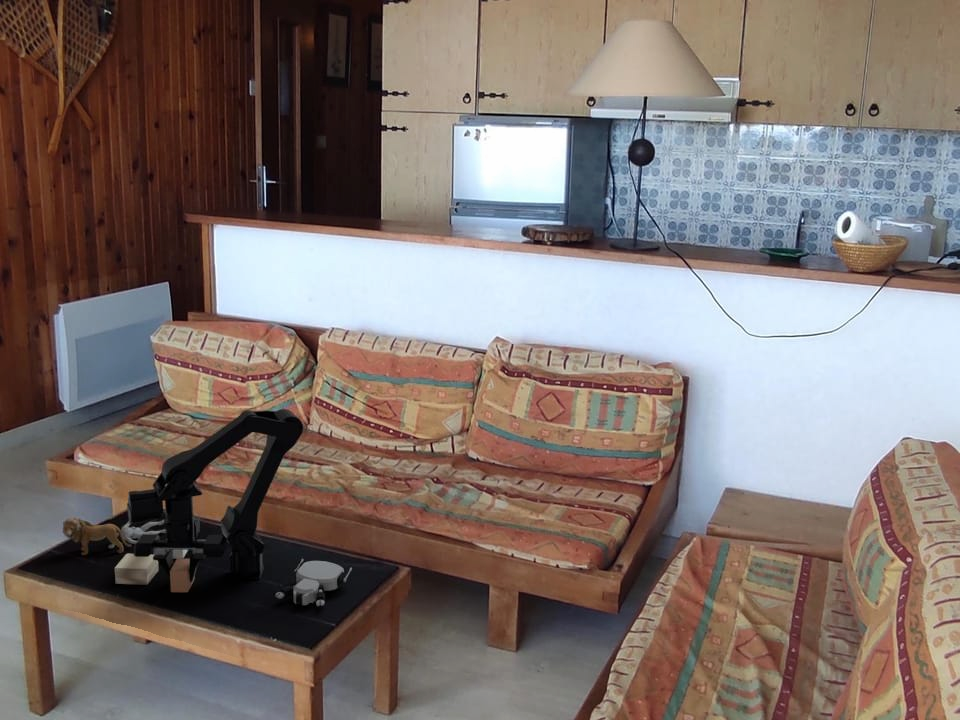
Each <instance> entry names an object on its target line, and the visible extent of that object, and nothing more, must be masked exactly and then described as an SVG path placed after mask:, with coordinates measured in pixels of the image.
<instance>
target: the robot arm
mask: <svg viewBox="0 0 960 720" xmlns="http://www.w3.org/2000/svg"><path fill="white" fill-rule="evenodd" d="M303 432H304V424H303V421H302V420H301V419H300V418H299V417H298V416H297V415H296V414H295V413H294V412H293V411H291V410H290V409H288V408H287V409H286V408H281V409H278V410H267V409H266V410H250V409H247V410H244V411H242V412H240V414H239V415H237V417H236V418H234V419H233V420H231V421H229V422H228V423H227V424H225V425H224V426H223V427H221V428H220V429H218V430H217V431H216V432H214V434H212V435H210V436H209V437H208V438H207V439H205V440H203V441H202V442H201V443H200V444H198V445H197V446H194V447H192V448H191V449H188V450H184V451H181V452H179V453H177V454H175V455H173V456H171V457H169V458H168V459H166V460H165V461H164V462H163V463H162V467H161V472H160V473H159V475H158V477H157V478H156V480H155V481H154V483H153V484H152V487H153V488H152V489H144V490H131V491H130V490H129V492H128V497H127V503H126V508H127V514H128V516H127V517H128V521H129V522H130V524H131V525H133V524H141V523H149V522H155V521H158V520H159V519H161V518H162V515H164V511H165V524H164V529H165V530H166V532H165V534H166V539H167V540H166V539H164V540H163V539H160V535H159V534H157V535H153V534H142V535H141V536H140V538H139V539H138V538H137V540H136V541H137V542H136V543H135V544H133V554H134V556H136V557H148V556H149V555H154V556H153V560H157V561H158V564H160V566H161V567H162V568H163V569H164V571H165V573H166V574H167V576H168V577H169V579H170V570H171V568H172V567H173V565H174V563H175V562H174V558H173V550H188V551H189V550H190V551H192V553H191V555H190V557H189V559H190V582H192V581H193V579H194V578H195V576H196V572H197V568H198V566H199V562H200V561H204V560H205V558H221V557H223V556H224V553H225V551H226V549H227V547H228V545H230V547H231V548H232V549H231V553H230V554H229V557H228V559H229V573H230V579H231V580H259V579H261V577H262V574H263V571H264V568H265V564H264V563H263V552H264V548H265V544H264V542H263V541H262V538H260V536H259V535H258V533H257V532H256V531H257V527H258V518H259V511H260V508H261V507H262V504H263V503H264V500H265V498H266V496H267V493H268V491H269V489H270V487H271V485H272V483H273V482H274V481H273V480H274V478H275V477H276V474H277V472H278V470H279V468H280V465H281V463H282V461H283V458H284V457H285V455H286V454H287V453H288V452H289V451H290V450H291V449H293V448H294V447H295V445H296V444H297V442H298V441H299V440H300V438H301V436H302V435H303ZM252 433H255V434H256V433H258V434H262V435H266V443H265V447H264V449H263V451H262V453H261V455H260V457H259V459H258V461H257V464H256V466H255V469H254V470H253V472H252V475H251V477H250V480H248V481H249V482H248V484H247V485H246V488H245V490H244V492H243V495H242V497H241V499H240V501H239V502H238V503H237V504H236V505H235V506H234V507H233V506H230V505H227V508H226V511H225V513H224V515H223V517H222V518H221V519H220V520H219V521H220V522H221V527H220V528H221V532H222V534H208V535H207V537H206V539H197V540H195V538H197V537H198V535H199V533H200V527H201V526H200V525H201V518H200V517H198V518H197V517H195V514H194V500H193V498H194V497H199V496H202V495H203V492H202V490H201V489H200V487H199V486H198V485H196V484H195V482H196V481H197V479H199V478H200V477H201V475H202V473H203V472H204V471H205V469H206V468H207V467H208V466H209V465H210V464H211V463H212V462H213V461H215V460H216V459H218V458H219V457H221V456H222V455H223V454H225V453H226V452H227V451H229V450H230V449H232V448H233V447H234V446H235V445H237V444H238V443H239V442H241V441H242V440H244V439H245V438H246V437H248V436H250V435H251V434H252ZM163 501H164V502H163ZM163 503H164V504H163ZM164 509H165V510H164ZM152 553H153V554H152ZM194 580H195V579H194ZM193 582H194V581H193Z"/></svg>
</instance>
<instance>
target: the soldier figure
mask: <svg viewBox="0 0 960 720" xmlns="http://www.w3.org/2000/svg"><path fill="white" fill-rule="evenodd" d="M164 523H165V519H162V520H160V521H148V522H145V524H144V525H142V526H140V527H135V526H131V525H132V524H130V522H129V520H128V521H127V523H125V524H124V525H123V526H121V529H120V531H121V532H122V535H123V537H124V540H125V542H127V543H128V544H131V545H135V543H136V542H137V540H138V539H139V538H140V536H141V535H142V534H153V535H159V534H166V530H165V528H164V529H161V530H155V531H154V530H149V529H150V528H152V527H155V526H157V525H158V526H161V525H165V524H164ZM129 526H130V527H129ZM147 530H149V531H147ZM119 536H120V535H119V533H117V538H118V537H119ZM134 539H137V540H134Z"/></svg>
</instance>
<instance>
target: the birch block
mask: <svg viewBox="0 0 960 720" xmlns="http://www.w3.org/2000/svg"><path fill="white" fill-rule="evenodd" d="M153 556H154V554H151V555H149V556H148V557H136V556H134V553H126V554H125V555H124V556H123V558H122V559H121V560H120V561H119V562H118V563H117V565H116V566H115V567H114V575H115V576H114V577H115V584H118V585H119V584H120V585H121V584H123V585H142V586H143V585H148V584H149V583H150V582H151V581H152V579H153V578H154V577H155V575H156V574H157V573H158V572H159V562H158V561H157V560H153Z"/></svg>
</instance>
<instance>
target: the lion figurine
mask: <svg viewBox="0 0 960 720" xmlns="http://www.w3.org/2000/svg"><path fill="white" fill-rule="evenodd" d="M62 525H63V526H62V534H63V535H64V536H65V537H66V538H67V539H70V540H72V541H73V542H74V543H81V546H82V547H81V548H80V550H81V551H82V552H81V555H82V556H86V555H88V554H89V547H88V546H89V542H90V541H96V542H97V541H98V542H99V541H102V540H103V539H105V538H107V540H108V541H109V542H110V543H111V544H109V545H108V549H113V548H115V546H117V547H118V548H119V549H117V553H118V554H122V553H123V552H124V551H125V550H124V546H125V547H128V548H129V547H130V548H131V547H132V545H133V544H131V543H128V542H127V541H125V540H124V537H123V535H122V532H121V529H120V528H119V527H118V526H117V525H115V524H112V523H106V524H102V525H101V524H99V525H94V524H92V523H90V522H89V521H87V520H84V519H81V518H77V517H69V518H67V519H66V520H65V521H63V522H62ZM117 533H119V535H118V536H119V537H120V539H121V541H122V542H121V541H120V540H119V539H118V537H117Z"/></svg>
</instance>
